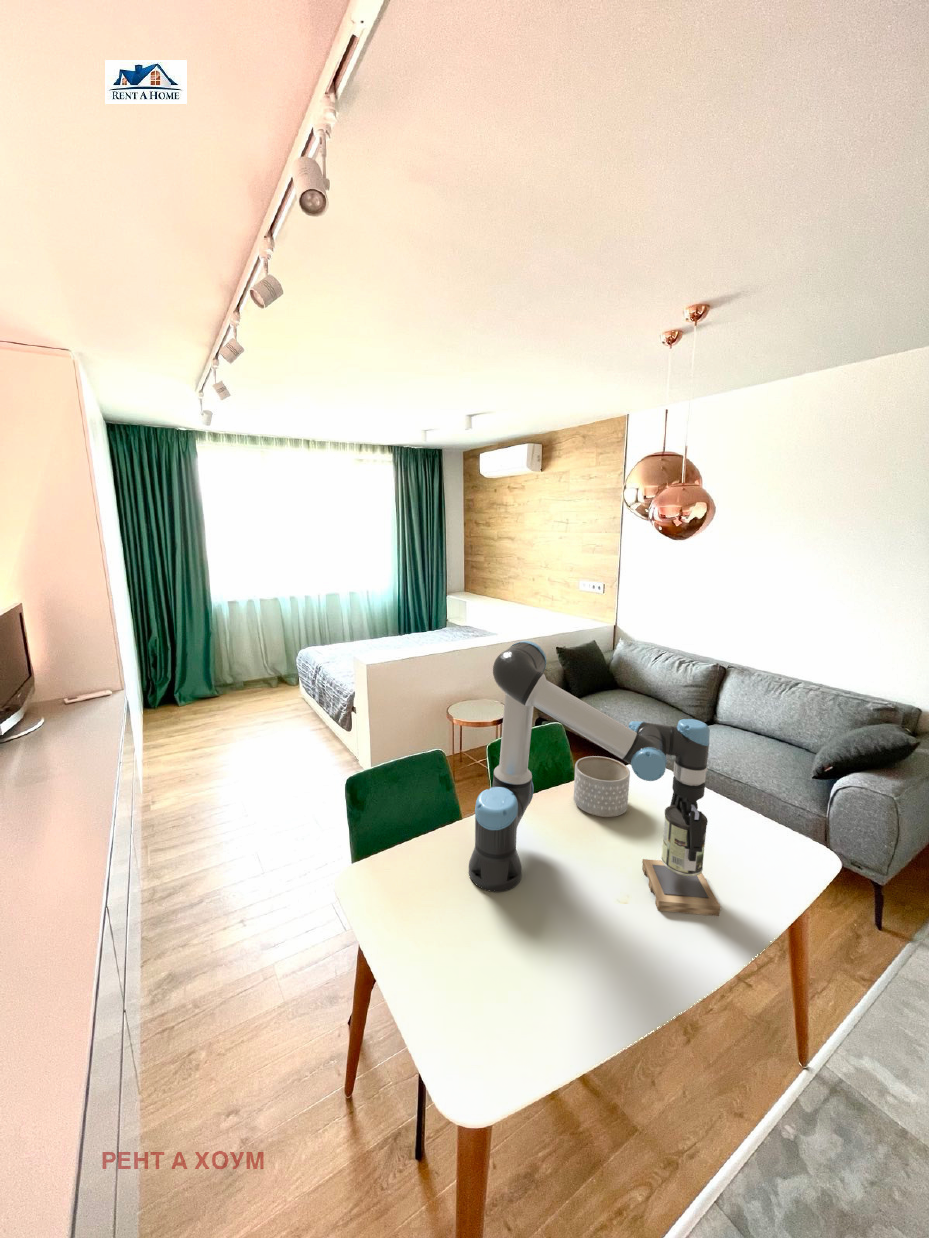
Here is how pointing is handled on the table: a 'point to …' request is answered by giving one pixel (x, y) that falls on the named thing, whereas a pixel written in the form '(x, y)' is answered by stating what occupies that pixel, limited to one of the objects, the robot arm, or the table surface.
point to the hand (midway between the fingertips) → (682, 855)
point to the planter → (601, 786)
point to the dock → (679, 890)
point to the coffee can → (679, 842)
